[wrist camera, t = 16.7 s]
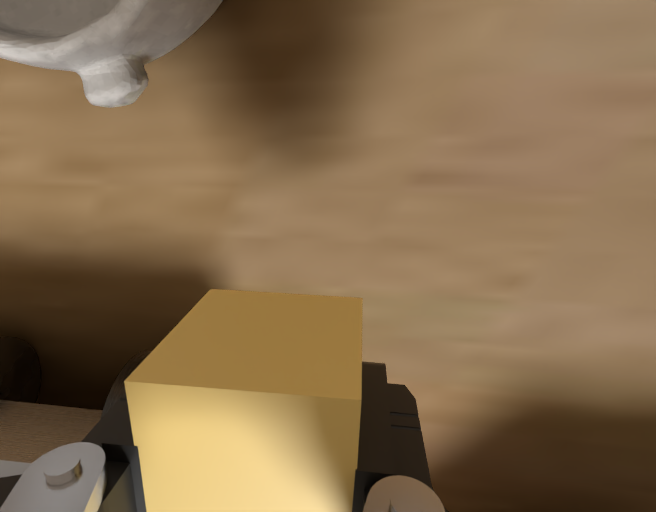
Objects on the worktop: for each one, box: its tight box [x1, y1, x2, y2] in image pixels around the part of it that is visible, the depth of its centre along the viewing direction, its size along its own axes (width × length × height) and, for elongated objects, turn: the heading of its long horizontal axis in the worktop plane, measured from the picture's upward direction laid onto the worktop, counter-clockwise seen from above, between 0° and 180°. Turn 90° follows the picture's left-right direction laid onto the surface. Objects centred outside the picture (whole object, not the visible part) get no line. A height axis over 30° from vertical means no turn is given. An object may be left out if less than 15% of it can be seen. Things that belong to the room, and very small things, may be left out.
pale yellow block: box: [124, 289, 362, 512], centre depth 9 cm, size 4×5×4 cm
